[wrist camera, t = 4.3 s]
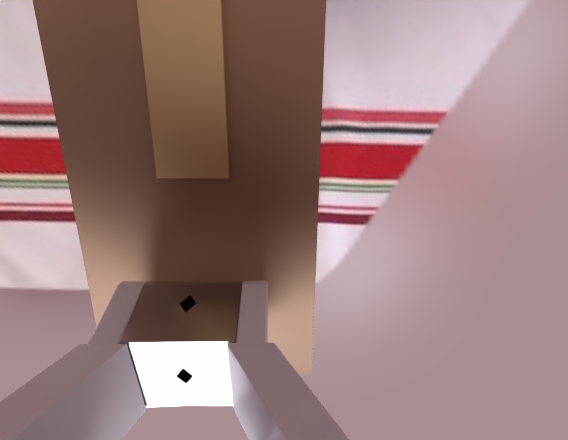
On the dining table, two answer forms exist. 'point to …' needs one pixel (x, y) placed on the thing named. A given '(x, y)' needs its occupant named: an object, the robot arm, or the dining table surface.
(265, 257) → the balance beam
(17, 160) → the dining table surface
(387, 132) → the dining table surface
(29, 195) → the dining table surface
